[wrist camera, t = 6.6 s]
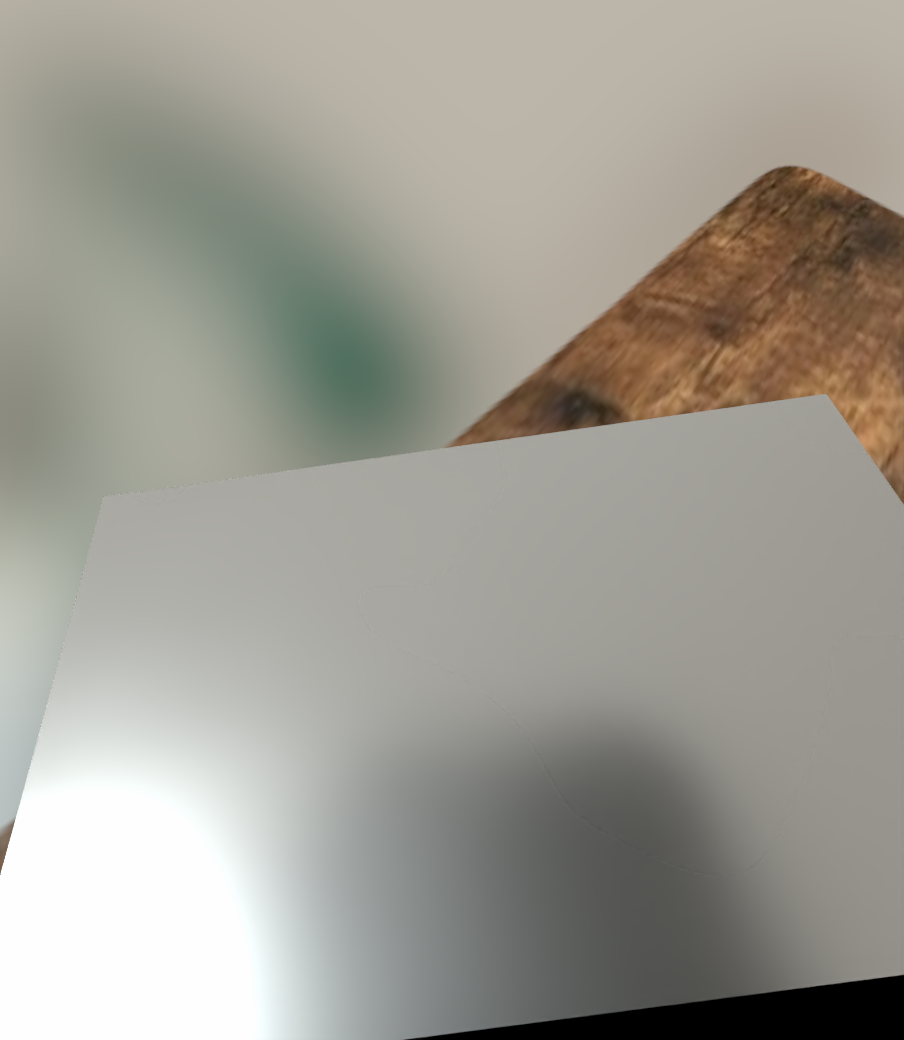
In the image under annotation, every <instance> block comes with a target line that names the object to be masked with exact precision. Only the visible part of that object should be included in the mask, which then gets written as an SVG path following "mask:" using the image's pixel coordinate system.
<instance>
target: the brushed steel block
mask: <svg viewBox="0 0 904 1040" xmlns="http://www.w3.org/2000/svg"><path fill="white" fill-rule="evenodd" d="M0 1040H904V504H903V503H902V502H901V500H900V499H899V497H898V496H897V494H896V493H895V492H894V490H893V489H892V487H891V486H890V484H889V483H888V481H887V480H886V479H885V477H884V476H883V474H882V473H881V471H880V470H879V469H878V467H877V466H876V464H875V463H874V461H873V460H872V459H871V457H870V456H869V454H868V453H867V451H866V450H865V449H864V447H863V446H862V444H861V443H860V441H859V440H858V438H857V437H856V436H855V434H854V433H853V431H852V430H851V428H850V427H849V426H848V424H847V423H846V421H845V420H844V418H843V417H842V416H841V414H840V413H839V411H838V410H837V408H836V407H835V405H834V404H833V403H832V401H831V400H830V398H829V397H828V395H827V394H822V395H815V396H808V397H801V398H794V399H787V400H780V401H773V402H766V403H759V404H752V405H745V406H738V407H731V408H724V409H717V410H710V411H703V412H696V413H689V414H682V415H675V416H668V417H661V418H654V419H647V420H640V421H633V422H626V423H619V424H612V425H605V426H597V427H590V428H583V429H576V430H569V431H562V432H555V433H548V434H541V435H534V436H527V437H520V438H513V439H506V440H499V441H492V442H485V443H478V444H471V445H464V446H457V447H450V448H443V449H436V450H429V451H422V452H415V453H408V454H401V455H394V456H387V457H380V458H373V459H366V460H359V461H352V462H345V463H338V464H331V465H324V466H317V467H310V468H303V469H296V470H289V471H282V472H275V473H268V474H260V475H253V476H247V477H239V478H232V479H225V480H219V481H212V482H204V483H197V484H191V485H183V486H177V487H169V488H162V489H155V490H149V491H141V492H134V493H127V494H120V495H114V496H106V497H103V501H102V505H101V508H100V512H99V516H98V519H97V523H96V527H95V531H94V535H93V538H92V541H91V545H90V549H89V552H88V556H87V560H86V563H85V567H84V571H83V574H82V578H81V582H80V586H79V589H78V593H77V596H76V600H75V604H74V608H73V611H72V615H71V619H70V623H69V626H68V630H67V633H66V637H65V641H64V644H63V648H62V652H61V655H60V659H59V663H58V666H57V670H56V674H55V677H54V681H53V685H52V688H51V692H50V696H49V700H48V703H47V707H46V711H45V714H44V718H43V721H42V725H41V729H40V732H39V736H38V740H37V744H36V747H35V751H34V754H33V758H32V762H31V765H30V769H29V773H28V776H27V780H26V784H25V788H24V791H23V795H22V799H21V802H20V806H19V809H18V813H17V817H16V820H15V824H14V828H13V831H12V835H11V839H10V843H9V846H8V850H7V854H6V857H5V861H4V865H3V868H2V872H1V876H0Z"/></svg>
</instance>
